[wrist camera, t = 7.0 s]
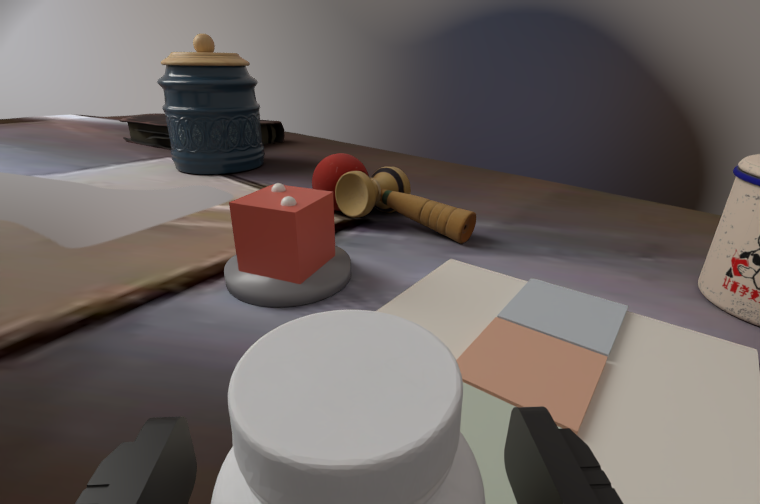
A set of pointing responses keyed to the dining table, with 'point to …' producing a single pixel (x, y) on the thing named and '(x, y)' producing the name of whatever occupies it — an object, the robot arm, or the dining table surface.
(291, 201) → the red die
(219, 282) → the dining table surface
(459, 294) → the game board
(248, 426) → the supplement bottle
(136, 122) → the diary
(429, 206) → the kendama
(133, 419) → the dining table surface
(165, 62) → the canister
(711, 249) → the teacup with lid
